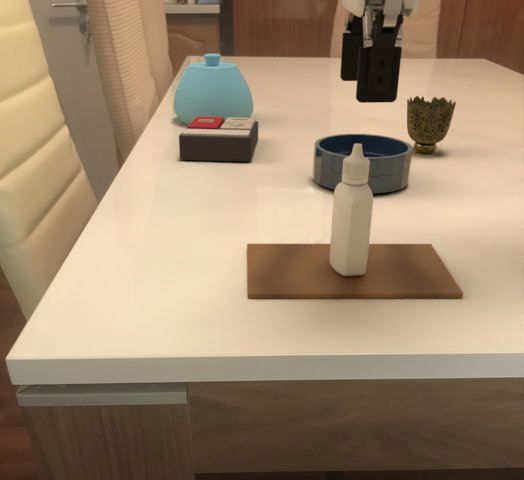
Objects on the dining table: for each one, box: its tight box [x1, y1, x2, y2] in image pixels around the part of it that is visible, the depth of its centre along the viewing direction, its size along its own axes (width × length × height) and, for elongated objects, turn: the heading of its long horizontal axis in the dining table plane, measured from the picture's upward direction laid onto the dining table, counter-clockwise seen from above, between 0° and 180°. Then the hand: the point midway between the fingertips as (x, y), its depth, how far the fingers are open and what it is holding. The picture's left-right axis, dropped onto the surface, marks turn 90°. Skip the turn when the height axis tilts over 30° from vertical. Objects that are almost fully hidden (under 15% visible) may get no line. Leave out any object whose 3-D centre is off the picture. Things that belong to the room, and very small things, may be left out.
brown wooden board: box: [246, 243, 464, 299], centre depth 64 cm, size 20×12×1 cm, turn 91°
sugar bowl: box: [173, 53, 254, 126], centre depth 119 cm, size 15×15×12 cm
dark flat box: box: [178, 117, 259, 163], centre depth 103 cm, size 11×4×15 cm
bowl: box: [312, 133, 414, 195], centre depth 89 cm, size 13×13×5 cm
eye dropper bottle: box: [329, 143, 374, 276], centre depth 61 cm, size 4×6×12 cm
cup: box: [406, 95, 457, 155], centre depth 102 cm, size 8×7×8 cm
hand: (365, 90), depth 56 cm, fingers open, 9 cm apart
